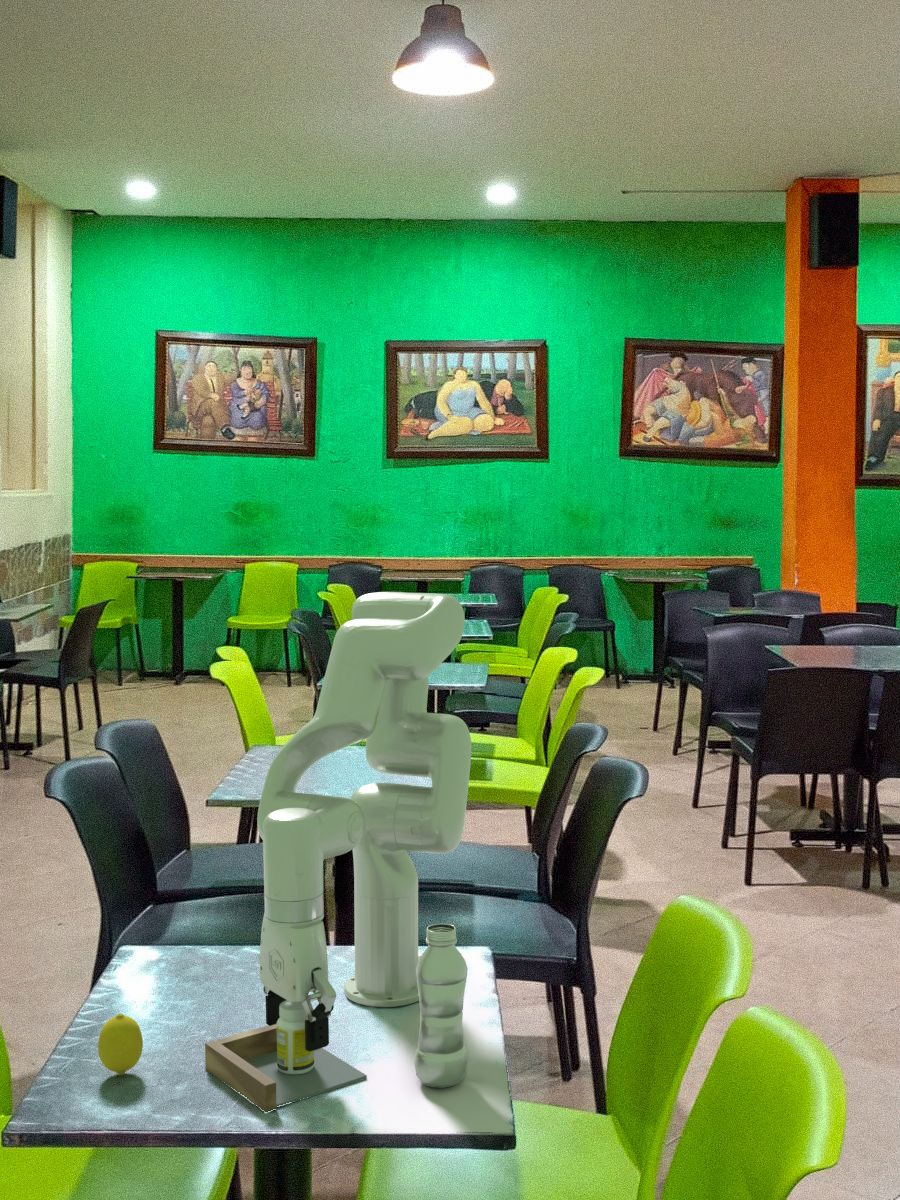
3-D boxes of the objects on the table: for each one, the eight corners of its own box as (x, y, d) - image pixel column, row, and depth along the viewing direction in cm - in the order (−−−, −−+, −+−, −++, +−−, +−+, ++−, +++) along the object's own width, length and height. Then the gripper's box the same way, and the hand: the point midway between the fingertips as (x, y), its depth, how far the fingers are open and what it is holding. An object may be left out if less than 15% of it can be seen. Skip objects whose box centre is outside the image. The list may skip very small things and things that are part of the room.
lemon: (90, 1081, 164) (89, 1020, 163) (113, 1063, 169) (111, 1003, 169) (129, 1086, 163) (128, 1024, 162) (151, 1068, 168) (150, 1008, 167)
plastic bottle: (406, 1077, 165) (406, 924, 164) (454, 1067, 168) (454, 917, 167) (426, 1098, 159) (426, 939, 158) (476, 1088, 162) (476, 932, 161)
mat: (310, 1043, 175) (310, 1040, 175) (366, 1078, 165) (366, 1075, 165) (221, 1070, 167) (221, 1067, 167) (274, 1108, 157) (274, 1105, 157)
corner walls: (307, 1038, 177) (307, 1014, 177) (372, 1078, 165) (372, 1052, 165) (205, 1069, 167) (205, 1043, 167) (265, 1113, 155) (265, 1085, 155)
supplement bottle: (318, 1061, 169) (318, 998, 168) (307, 1077, 164) (307, 1013, 164) (283, 1058, 170) (283, 996, 169) (271, 1074, 165) (271, 1010, 165)
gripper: (235, 895, 170) (238, 1020, 172) (304, 931, 156) (307, 1067, 158) (284, 883, 174) (287, 1006, 176) (356, 917, 161) (358, 1050, 163)
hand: (297, 1035), depth 167 cm, fingers open, 9 cm apart
